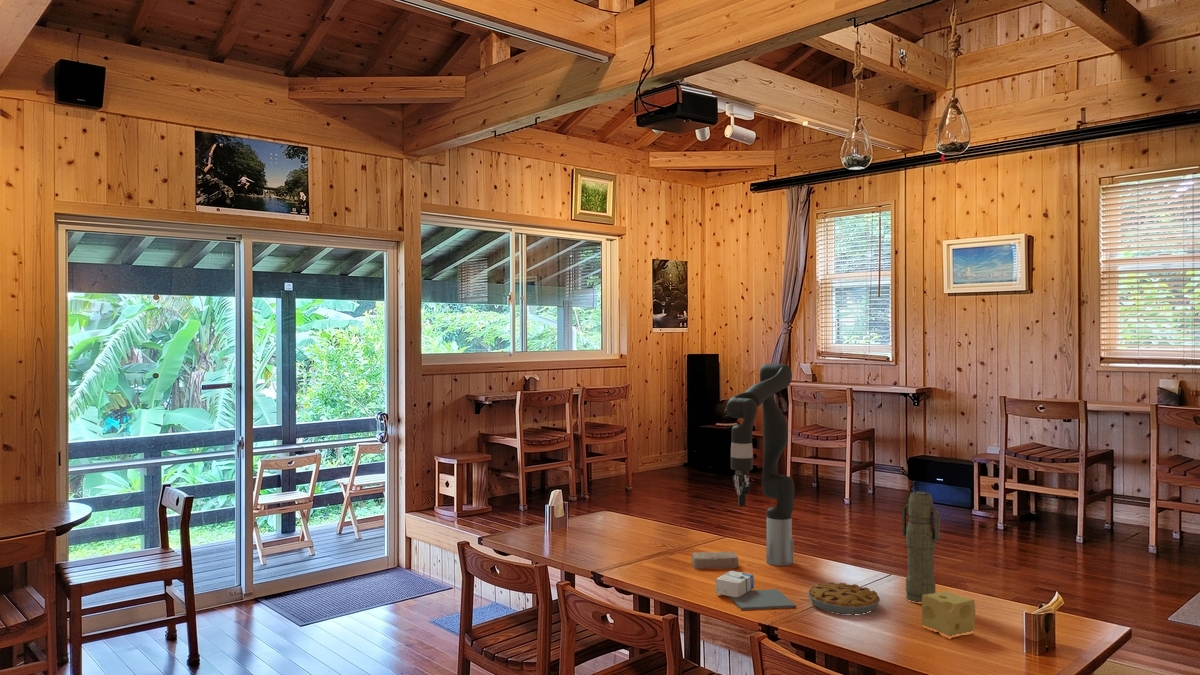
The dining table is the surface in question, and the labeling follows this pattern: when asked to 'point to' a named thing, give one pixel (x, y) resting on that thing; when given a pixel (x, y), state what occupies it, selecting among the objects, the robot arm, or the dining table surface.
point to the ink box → (734, 584)
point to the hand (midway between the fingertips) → (741, 505)
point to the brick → (714, 560)
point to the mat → (762, 600)
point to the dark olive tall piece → (920, 544)
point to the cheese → (948, 613)
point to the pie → (843, 598)
